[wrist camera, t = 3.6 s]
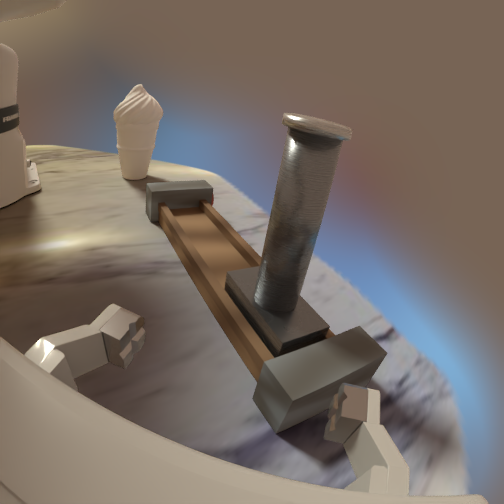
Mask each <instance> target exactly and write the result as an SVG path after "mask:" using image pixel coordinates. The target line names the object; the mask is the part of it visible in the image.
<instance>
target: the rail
mask: <svg viewBox="0 0 504 504" xmlns="http://www.w3.org/2000/svg"><path fill="white" fill-rule="evenodd" d="M213 201H214V197H213V187H212V186H210V185H209V184H208V183H207V182H206V181H205V180H200V181H177V182H159V183H147V186H146V214H147V216H148V218H149V220H150V222H155V221H159V223H160V225H161V227H162V229H163V230H164V232H165V234H166V236H167V237H168V239H169V241H170V243H171V245H172V246H173V248H174V250H175V251H176V253H177V255H178V257H179V258H180V260H181V262H182V264H183V265H184V267H185V269H186V270H187V272H188V274H189V275H190V277H191V279H192V280H193V282H194V284H195V285H196V287H197V289H198V290H199V292H200V294H201V295H202V297H203V299H204V300H205V302H206V304H207V305H208V307H209V308H210V310H211V312H212V313H213V315H214V317H215V318H216V320H217V321H218V323H219V324H220V326H221V328H222V329H223V331H224V332H225V334H226V335H227V337H228V339H229V340H230V342H231V343H232V345H233V346H234V348H235V349H236V351H237V353H238V354H239V356H240V357H241V359H242V360H243V362H244V363H245V365H246V366H247V368H248V369H249V371H250V372H251V374H252V375H253V377H254V378H255V380H256V381H257V386H256V389H255V392H254V395H253V398H252V399H253V400H254V402H255V403H256V405H257V406H258V408H259V409H260V411H261V412H262V414H263V415H264V417H265V418H266V420H267V421H268V423H269V424H270V426H271V427H272V429H273V430H274V432H275V433H279V432H281V431H283V430H285V429H288V428H290V427H292V426H294V425H296V424H298V423H300V422H302V421H304V420H307V419H309V418H311V417H313V416H315V415H317V414H319V413H321V412H322V411H324V410H326V409H328V408H329V406H330V403H331V401H332V399H333V397H334V395H335V394H338V392H339V387H340V386H341V384H342V383H348V384H352V385H356V386H361V387H366V385H367V384H368V382H369V381H370V379H371V378H372V376H373V375H374V373H375V372H376V370H377V369H378V367H379V366H380V364H381V362H382V361H383V359H384V358H385V356H386V355H387V352H386V351H385V350H384V349H383V348H382V347H381V346H380V345H379V344H378V343H377V342H376V341H375V340H373V339H372V338H371V337H370V336H369V335H368V334H367V333H366V332H365V331H364V330H363V329H362V328H361V327H360V326H358V327H355V328H353V329H350V330H348V331H345V332H343V333H341V334H338V335H336V336H335V334H334V333H333V332H332V331H331V330H330V329H329V330H328V332H327V334H326V337H325V339H324V340H323V341H320V342H318V343H315V344H312V345H310V346H307V347H304V348H302V349H299V350H296V351H293V352H290V353H288V354H285V355H282V356H279V357H276V358H274V357H273V355H272V354H271V353H270V351H269V350H268V349H267V347H266V346H265V345H264V343H263V342H262V341H261V339H260V338H259V337H258V335H257V334H256V332H255V331H254V330H253V328H252V327H251V326H250V324H249V323H248V322H247V320H246V319H245V317H244V316H243V315H242V313H241V312H240V311H239V309H238V308H237V306H236V305H235V304H234V302H233V301H232V299H231V298H230V297H229V295H228V294H227V292H226V291H225V290H224V288H225V281H226V274H227V271H233V270H239V269H245V268H251V267H257V266H260V262H261V257H260V256H259V255H258V254H257V253H256V252H255V251H254V250H253V248H252V247H251V246H250V245H249V244H248V243H247V242H246V241H245V240H244V239H243V238H242V237H241V236H240V235H239V234H238V233H237V232H236V231H235V230H234V229H233V228H232V227H231V225H230V224H229V223H228V222H227V221H226V220H225V219H224V218H223V217H222V216H221V215H220V214H219V213H218V212H217V211H216V210H215V209H214V208H213V207H212V205H213Z"/></svg>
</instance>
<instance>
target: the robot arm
mask: <svg viewBox="0 0 504 504" xmlns="http://www.w3.org/2000/svg"><path fill="white" fill-rule="evenodd" d="M65 1H66V0H0V22H3V21H8V20H13V19H18V18H24V17H31V16H34V15H37V14H40V13H43V12H47V11H49V10H53V9H56V8H59V7H60V6H61V5H62V4H63V3H64V2H65ZM18 64H19V61H18V57H17V55H16V53H15V51H14V50H12V49H11V48H10V47H8V46H6V45H4V44H1V43H0V208H2V207H4V206H7V205H9V204H11V203H13V202H15V201H17V200H18V199H20V198H22V197H23V196H25V195H28V194H30V193H33V192H36V191H38V190H40V189H41V185H40V181H39V176H38V172H37V167H36V164H35V163H31V161H30V159H28V160H26V144H25V140H24V138H23V136H22V134H21V133H20V131H19V128H18V125H19V109H18V104H16V93H17V76H18ZM144 324H145V322H144V318H143V317H142V316H139V315H137V314H135V313H133V312H131V311H129V310H126V309H124V308H122V307H120V306H117V305H115V304H111V305H109V306H108V307H107V308H106V309H105V310H104V311H103V312H102V313H101V314H100V315H99V316H98V317H97V318H96V319H95V320H94V321H93V322H92V323H91V324H90V325H87V324H86V325H82V326H79V327H76V328H72V329H69V330H66V331H62V332H59V333H55V334H52V335H49V336H45V337H42V338H40V339H39V340H38V341H37V342H36V343H35V344H34V345H33V346H32V347H31V348H30V349H29V350H28V351H27V352H26V353H25V354H24V355H23V354H22V353H21V352H19V351H18V350H17V349H15V348H14V347H13V346H12V345H10V344H9V343H8V342H7V341H5V340H4V339H3V338H2V337H1V336H0V504H489V503H488V502H487V501H486V499H485V498H484V497H483V496H481V495H474V494H473V495H457V496H408V494H409V467H408V465H407V464H406V462H405V460H404V459H403V457H402V455H401V454H400V452H399V450H398V449H397V447H396V446H395V444H394V442H393V441H392V439H391V437H390V436H389V434H388V432H387V431H386V429H385V428H384V426H383V425H380V392H379V390H374V389H369V388H366V387H361V386H356V385H352V384H348V383H342V384H341V386H340V387H339V392H338V394H335V395H334V397H333V399H332V401H331V403H330V406H329V410H328V415H327V416H328V418H329V422H328V423H327V424H326V427H325V434H324V439H325V440H329V441H334V442H338V443H342V444H343V446H344V448H345V451H346V453H347V455H348V458H349V460H350V463H351V465H352V468H353V470H354V473H355V475H356V478H357V480H355V481H354V482H352V483H351V484H350V485H348V486H347V487H346V488H344V489H337V488H331V487H325V486H320V485H314V484H309V483H304V482H300V481H295V480H291V479H287V478H282V477H278V476H274V475H271V474H267V473H263V472H260V471H256V470H253V469H249V468H246V467H243V466H239V465H236V464H233V463H230V462H227V461H224V460H221V459H218V458H215V457H213V456H210V455H207V454H204V453H202V452H199V451H196V450H194V449H191V448H189V447H186V446H184V445H181V444H179V443H176V442H174V441H172V440H169V439H167V438H165V437H163V436H160V435H158V434H156V433H154V432H152V431H149V430H147V429H145V428H143V427H141V426H139V425H137V424H135V423H133V422H131V421H129V420H127V419H125V418H123V417H121V416H119V415H117V414H115V413H114V412H112V411H110V410H108V409H106V408H104V407H103V406H101V405H99V404H97V403H96V402H94V401H92V400H90V399H89V398H87V397H85V396H84V395H82V394H80V393H79V392H77V391H78V388H77V385H76V383H75V381H74V379H75V378H77V377H79V376H81V375H83V374H85V373H87V372H90V371H92V370H94V369H96V368H98V367H100V366H102V365H105V364H107V363H108V362H110V363H112V364H114V365H117V366H119V367H121V368H123V369H126V368H127V366H128V365H129V364H130V362H131V361H132V360H133V354H134V353H137V352H139V351H140V349H141V348H142V346H143V344H144V341H145V336H146V335H145V330H144V329H143V325H144Z"/></svg>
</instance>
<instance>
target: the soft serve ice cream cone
mask: <svg viewBox="0 0 504 504" xmlns="http://www.w3.org/2000/svg"><path fill="white" fill-rule="evenodd" d="M162 116H163V110H162V108H161V106H160V105H159V103H158V102H157V101H156V100H155V99H154V98H153V97H152V96H150V95H149V94H148V93H147V92H146V91H145V89H144V87H143V86H142V85H141V84H140V85H136V86H135V87H134V88H133V89H132V90H131V91H130V93H129V94H128V95H127V96H126V98H125V100H124V101H123V102H121V103H120V104H119V105H118V107H117V108H116V109H115V110H114V121H115V122H116V129H117V143H118V144H117V149H118V153H119V159H120V165H121V171H122V176H123V178H125V179H129V180H139V179H143V178H145V177H146V176H147V172H148V168H149V164H150V160H151V156H152V152H153V149H154V148H155V144H154V143H155V139H156V133H157V129H158V127H159V120H160V119H161V118H162Z"/></svg>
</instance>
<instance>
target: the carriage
mask: <svg viewBox="0 0 504 504" xmlns="http://www.w3.org/2000/svg"><path fill="white" fill-rule="evenodd" d="M282 124H283V125H286V126H288V131H287V137H286V142H285V146H284V151H283V156H282V161H281V166H280V171H279V176H278V181H277V185H276V191H275V195H274V201H273V205H272V210H271V214H270V219H269V224H268V229H267V234H266V238H265V243H264V248H263V253H262V257H261V262H260V266H257V267H251V268H245V269H239V270H233V271H227V274H226V281H225V288H224V290H225V291H226V292H227V294H228V295H229V297H230V298H231V299H232V301H233V302H234V304H235V305H236V306H237V308H238V309H239V311H240V312H241V313H242V315H243V316H244V317H245V319H246V320H247V322H248V323H249V324H250V326H251V327H252V328H253V330H254V331H255V332H256V334H257V335H258V337H259V338H260V339H261V341H262V342H263V343H264V345H265V346H266V347H267V349H268V350H269V351H270V353H271V354H272V355H273V357H274V358H276V357H279V356H282V355H285V354H288V353H290V352H293V351H296V350H299V349H302V348H304V347H307V346H310V345H312V344H315V343H318V342H320V341H323V340H324V339H325V337H326V334H327V332H328V330H329V327H330V326H329V325H328V324H327V323H326V322H325V321H324V320H323V319H322V318H321V317H320V316H319V315H318V314H317V313H316V312H315V310H314V309H313V308H312V307H311V306H310V305H309V304H308V303H307V302H306V301H305V300H304V299H303V298H302V297H301V296H300V292H301V289H302V286H303V283H304V279H305V276H306V273H307V270H308V266H309V263H310V260H311V256H312V253H313V250H314V246H315V243H316V239H317V236H318V232H319V229H320V225H321V222H322V218H323V215H324V211H325V208H326V204H327V200H328V196H329V193H330V189H331V185H332V181H333V178H334V173H335V170H336V166H337V162H338V158H339V154H340V150H341V146H342V142H343V140H350V138H351V134H352V129H351V128H349V127H346V126H343V125H340V124H337V123H334V122H331V121H327V120H323V119H319V118H314V117H310V116H306V115H300V114H294V113H284V116H283V120H282Z"/></svg>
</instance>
